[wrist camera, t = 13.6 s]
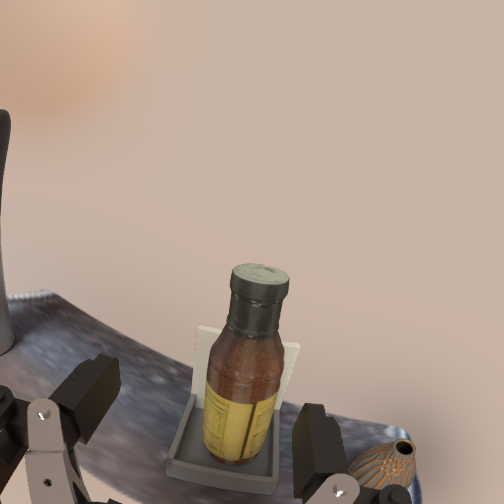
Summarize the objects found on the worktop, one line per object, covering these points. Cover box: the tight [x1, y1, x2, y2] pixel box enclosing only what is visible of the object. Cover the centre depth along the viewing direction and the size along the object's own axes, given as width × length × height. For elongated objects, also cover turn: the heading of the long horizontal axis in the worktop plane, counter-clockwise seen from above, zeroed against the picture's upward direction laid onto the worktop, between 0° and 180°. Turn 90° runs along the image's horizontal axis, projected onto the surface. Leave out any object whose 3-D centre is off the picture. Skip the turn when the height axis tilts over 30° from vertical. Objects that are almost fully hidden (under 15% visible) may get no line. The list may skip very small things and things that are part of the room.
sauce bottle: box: [203, 264, 290, 465], centre depth 22 cm, size 7×6×20 cm
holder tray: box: [165, 325, 300, 495], centre depth 23 cm, size 10×11×12 cm
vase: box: [348, 438, 416, 490], centre depth 18 cm, size 7×7×9 cm
